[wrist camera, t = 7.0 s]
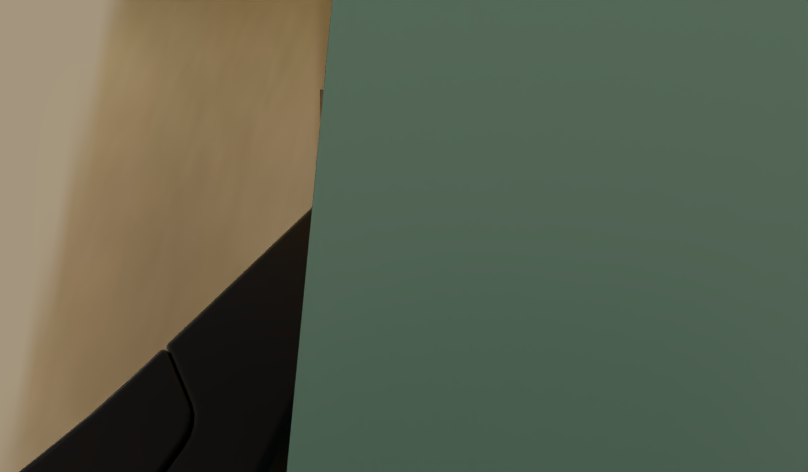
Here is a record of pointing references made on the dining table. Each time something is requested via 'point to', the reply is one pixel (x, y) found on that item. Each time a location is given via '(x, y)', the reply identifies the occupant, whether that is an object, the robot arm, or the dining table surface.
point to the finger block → (558, 239)
